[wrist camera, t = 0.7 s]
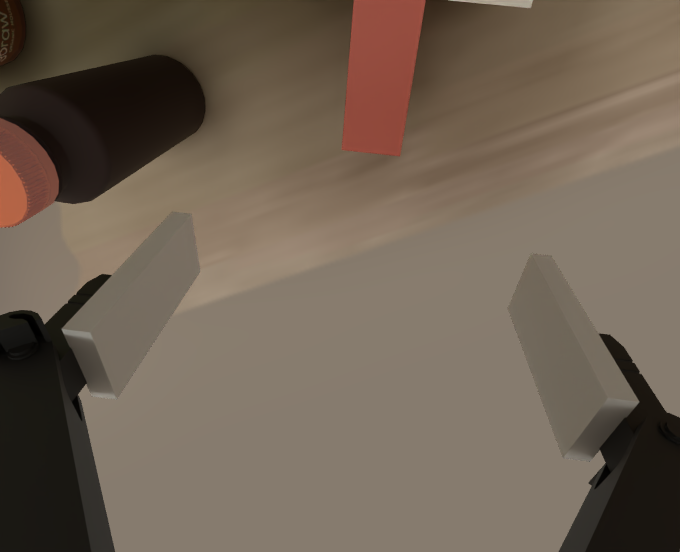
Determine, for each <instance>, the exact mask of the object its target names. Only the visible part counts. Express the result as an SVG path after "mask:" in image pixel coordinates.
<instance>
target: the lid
mask: <svg viewBox="0 0 680 552" xmlns="http://www.w3.org/2000/svg"><path fill="white" fill-rule="evenodd" d="M450 1H460V2H471V3H481V4H492V5H502V6H513V7H523V8H531V5H532V2H533V0H450ZM425 2H426V0H354V4H353V17H352V29H351V41H350V54H349V66H348V79H347V91H346V103H345V116H344V128H343V141H342V150H347V151H356V152H365V153H374V154H384V155H393V156H400V153H401V147H402V141H403V135H404V129H405V123H406V117H407V111H408V105H409V99H410V93H411V87H412V80H413V74H414V68H415V62H416V56H417V50H418V44H419V38H420V32H421V26H422V20H423V14H424V8H425Z"/></svg>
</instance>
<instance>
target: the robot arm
mask: <svg viewBox="0 0 680 552" xmlns="http://www.w3.org/2000/svg"><path fill="white" fill-rule="evenodd" d="M199 273H200V266H199V259H198V253H197V246H196V240H195V233H194V227H193V221H192V214H188V213H179V212H171V213H170V214H169V216H168V217H167V218H166V219H165V220H164V221H163V222H162V223H161V224H160V225H159V226H158V227H157V228H156V229H155V230H154V231H153V232H152V234H151V235H150V236H149V237H148V238H147V239H146V240H145V241H144V242H143V243H142V244H141V245H140V246H139V247H138V248H137V249H136V250H135V252H134V253H133V254H132V255H131V256H130V257H129V258H128V259H127V260H126V261H125V262H124V263H123V264H122V265H121V266H120V267H119V268H118V270H117V271H116V272H115V273H114V274H113V275H106V274H101V275H99V276H98V277H96V278H94V279H92V280H90V281H89V282H87V283H86V284H85V285H84V286H83V287H82V288H81V289H80V290H79V291H78V292H77V294H76V295H74V296H73V297H72V298H71V299H70V300H69V301H68V304H65V305H64V306H63V307H62V308H61V309H60V310H59V311H58V312H57V313H56V314H55V315H54V316H53V317H52V318H51V319H50V320H49V321H48V322H47V323H46V324H45V325H44V323H43V321H42V319H41V317H40V316H39V314H38V313H35V312H33V311H27V310H19V311H14V312H9V313H6V314H3V315H0V552H115V549H114V545H113V541H112V536H111V532H110V527H109V523H108V518H107V514H106V510H105V505H104V501H103V496H102V492H101V487H100V483H99V479H98V474H97V470H96V465H95V461H94V456H93V452H92V447H91V443H90V439H89V434H88V430H87V425H86V421H85V416H84V412H83V408H82V403H81V400H80V398H79V396H78V394H79V392H80V391H81V390H82V388H83V387H84V386H85V384H87V387H88V389H89V391H90V393H91V395H92V396H94V397H102V398H109V399H118V397H119V396H120V394H121V392H122V391H123V389H124V388H125V386H126V385H127V383H128V382H129V380H130V379H131V377H132V376H133V374H134V372H135V371H136V369H137V368H138V366H139V365H140V363H141V362H142V360H143V359H144V357H145V356H146V354H147V352H148V351H149V349H150V348H151V346H152V345H153V343H154V342H155V340H156V339H157V337H158V336H159V334H160V333H161V331H162V329H163V328H164V326H165V324H166V323H167V322H168V320H169V319H170V317H171V316H172V314H173V313H174V311H175V310H176V308H177V306H178V305H179V303H180V302H181V300H182V299H183V297H184V296H185V294H186V293H187V291H188V290H189V288H190V286H191V285H192V283H193V282H194V280H195V279H196V277H197V276H198V274H199ZM508 311H509V313H510V316H511V319H512V322H513V324H514V327H515V330H516V332H517V335H518V338H519V341H520V343H521V346H522V348H523V351H524V354H525V357H526V360H527V362H528V365H529V368H530V370H531V373H532V375H533V378H534V381H535V384H536V387H537V389H538V392H539V395H540V397H541V400H542V403H543V406H544V408H545V411H546V413H547V416H548V419H549V422H550V424H551V427H552V430H553V433H554V435H555V438H556V441H557V443H558V446H559V449H560V451H561V454H562V457H563V458H566V459H573V460H581V461H589V462H590V461H591V460H592V459H593V457H594V456H595V455H596V453H598V451H599V450H600V451H601V453H602V455H603V457H604V460H605V462H606V463H605V465H604V466H603V467H602V468H601V469H600V470H599V471H598V472H597V474H596V475H595V476H594V477H593V478H592V479H591V480H590V482H589V484H590V485H592V487H591V489H590V491H589V493H588V495H587V497H586V499H585V501H584V503H583V505H582V507H581V509H580V510H579V513H578V515H577V517H576V518H575V520H574V522H573V524H572V526H571V529H570V530H569V533H568V534H567V536H566V538H565V540H564V542H563V544H562V546H561V548H560V550H559V552H679V551H680V418H679V417H677V416H675V415H672V414H670V413H666V411H665V410H664V408H663V407H662V405H661V403H660V402H659V400H658V399H657V398H656V396H655V394H654V393H653V391H652V390H651V388H650V387H649V385H648V384H647V382H646V380H645V379H644V377H643V376H642V374H639V370H638V368H637V367H636V365H635V363H632V359H631V357H630V356H629V355H628V353H627V351H626V350H625V348H624V347H623V346H622V345H621V344H620V343H619V342H617V341H616V340H615V339H614V338H613V337H612V336H610V335H607V334H599V333H598V332H597V331H596V329H595V328H594V326H593V324H592V322H591V321H590V319H589V317H588V316H587V314H586V312H585V311H584V309H583V307H582V306H581V304H580V302H579V301H578V299H577V298H576V296H575V294H574V293H573V291H572V289H571V288H570V286H569V284H568V282H567V281H566V279H565V278H564V276H563V274H562V273H561V271H560V269H559V268H558V266H557V264H556V263H555V261H554V259H553V258H552V256H549V255H541V254H532V253H531V255H530V257H529V259H528V262H527V264H526V266H525V269H524V271H523V273H522V276H521V278H520V280H519V283H518V285H517V288H516V290H515V293H514V294H513V297H512V299H511V302H510V304H509V306H508Z"/></svg>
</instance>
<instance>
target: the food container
mask: <svg viewBox="0 0 680 552" xmlns="http://www.w3.org/2000/svg"><path fill="white" fill-rule="evenodd" d="M25 37H26V23H25V17H24V13H23V9H22V5H21V3H20V0H0V66H2V65H4V64H6V63H8V62H11V61H13V60H15V59H16V57H17V56H18V54H19V53H20V52H21V50H22V49H23V46H24V42H25Z"/></svg>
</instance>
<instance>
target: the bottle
mask: <svg viewBox="0 0 680 552" xmlns="http://www.w3.org/2000/svg"><path fill="white" fill-rule="evenodd" d="M204 113H205V103H204V96H203V93H202V91H201V88H200V85H199V83H198V82H197V80H196V79H195V77H194V76H193V74H192V73H191V72H190V71H189V70H188V69H187V68H185V67H184V66H183V65H182V64H181V63H179V62H177V61H175V60H173V59H171V58H169V57H166V56H159V55H151V56H147V57H142V58H138V59H133V60H129V61H124V62H120V63H115V64H110V65H106V66H101V67H97V68H92V69H88V70H83V71H78V72H74V73H69V74H65V75H60V76H56V77H51V78H46V79H42V80H37V81H33V82H28V83H24V84H20V85H16V86H12V87H8V88H6V89H5V90H4V91H3V92H2V93H1V94H0V227H1V228H2V227H5V228H6V227H11V226H12V227H13V226H16V225H19V224H20V223H22V222H24V221H25V220H27V219H29V218H30V217H32V216H33V215H35V214H37V213H38V212H40V211H42V210H43V209H45V208H46V207H48V206H49V205H51V204H52V203H53V202H54V201H57V202H63V203H70V204H77V203H83V202H88V201H92V200H93V199H95V198H96V197H98V196H100V195H101V194H103V193H104V192H106V191H107V190H109V189H110V188H112V187H113V186H115V185H116V184H118V183H119V182H121V181H122V180H124V179H125V178H127V177H128V176H130V175H131V174H133V173H134V172H136V171H137V170H139V169H140V168H142V167H143V166H145V165H146V164H148V163H149V162H151V161H152V160H154V159H155V158H157V157H158V156H160V155H161V154H163V153H165V152H166V151H168V150H169V149H171V148H172V147H174V146H175V145H177V144H178V143H180V142H181V141H183V140H184V139H186V138H187V137H189V136H190V135H192V134H193V133H195V132H196V131H197V129H198V128H199V126H200V125H201V123H202V121H203V117H204Z"/></svg>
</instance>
